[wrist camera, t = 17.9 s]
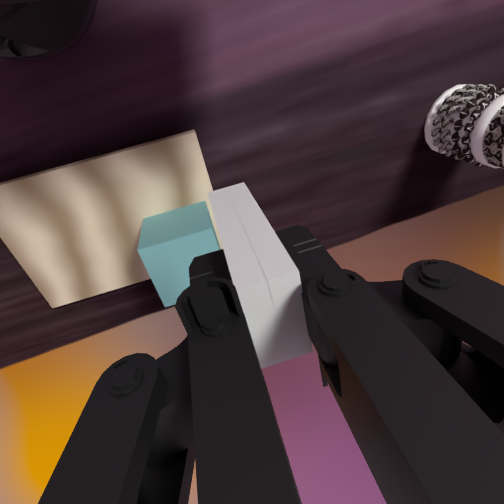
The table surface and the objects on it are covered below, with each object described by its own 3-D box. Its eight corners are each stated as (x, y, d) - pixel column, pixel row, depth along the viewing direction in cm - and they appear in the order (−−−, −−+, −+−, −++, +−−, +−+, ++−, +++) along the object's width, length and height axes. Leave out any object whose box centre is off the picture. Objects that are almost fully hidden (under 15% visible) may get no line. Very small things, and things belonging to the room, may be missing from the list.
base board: (56, 301, 43) (52, 308, 42) (-25, 189, 34) (-32, 193, 33) (230, 248, 44) (231, 253, 43) (194, 129, 36) (195, 131, 35)
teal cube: (166, 269, 42) (164, 307, 36) (143, 218, 38) (137, 250, 32) (221, 252, 43) (231, 286, 36) (205, 200, 39) (212, 228, 32)
